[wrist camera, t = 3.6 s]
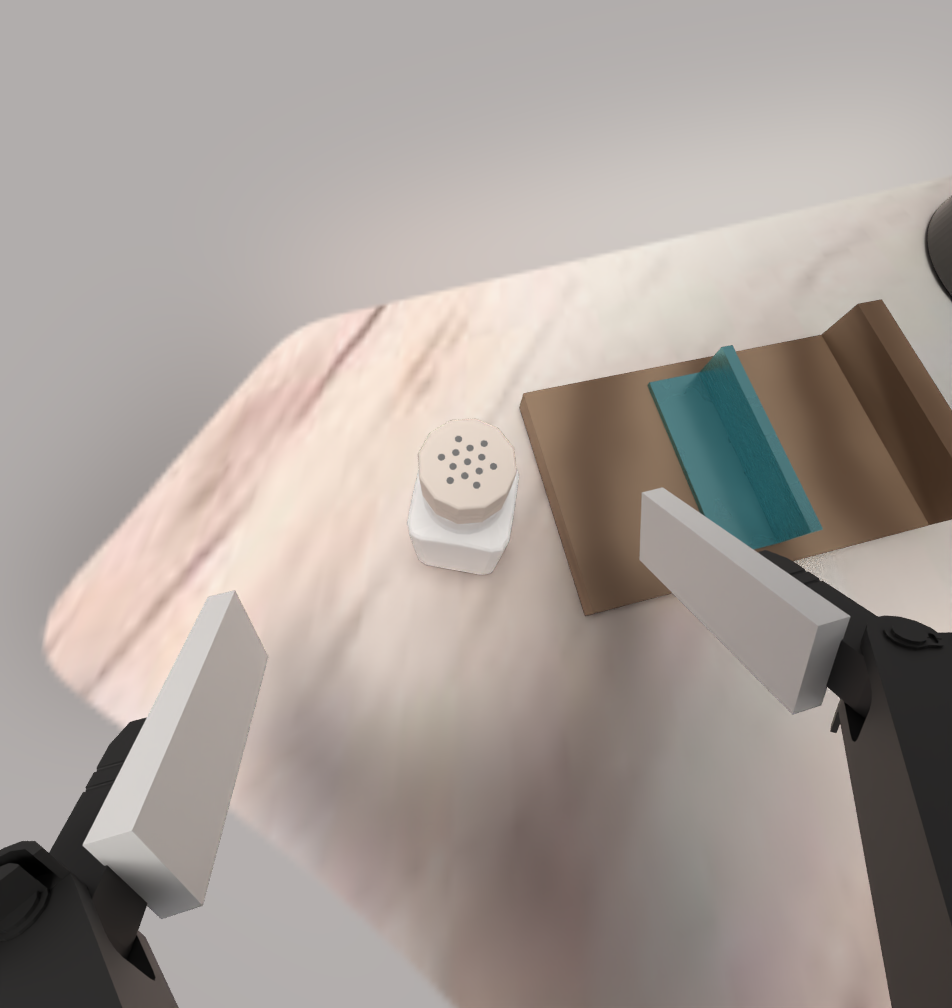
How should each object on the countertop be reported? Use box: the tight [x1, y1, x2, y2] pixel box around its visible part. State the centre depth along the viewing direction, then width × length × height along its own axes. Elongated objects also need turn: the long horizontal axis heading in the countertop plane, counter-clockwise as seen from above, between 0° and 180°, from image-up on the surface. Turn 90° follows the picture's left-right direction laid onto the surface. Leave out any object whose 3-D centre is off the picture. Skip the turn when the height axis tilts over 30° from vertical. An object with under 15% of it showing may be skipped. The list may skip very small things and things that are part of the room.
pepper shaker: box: [407, 419, 519, 575], centre depth 19 cm, size 4×4×10 cm
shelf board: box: [520, 300, 952, 616], centre depth 23 cm, size 20×12×4 cm, turn 104°
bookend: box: [647, 345, 823, 550], centre depth 22 cm, size 4×10×2 cm, turn 14°
